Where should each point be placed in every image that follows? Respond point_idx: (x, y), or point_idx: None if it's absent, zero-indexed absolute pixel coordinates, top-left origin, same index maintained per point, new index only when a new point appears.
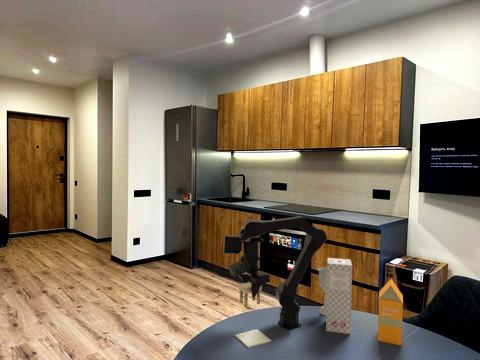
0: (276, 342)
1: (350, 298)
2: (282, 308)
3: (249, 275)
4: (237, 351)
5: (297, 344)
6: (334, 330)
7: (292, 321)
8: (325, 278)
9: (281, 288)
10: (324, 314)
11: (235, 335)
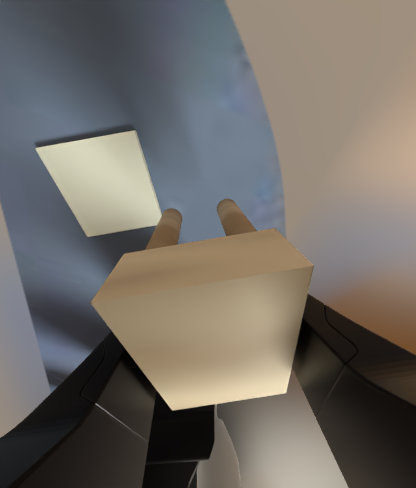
0: (86, 247)
1: None
2: None
3: (364, 482)
4: (4, 89)
5: (77, 285)
6: None
7: None
8: (201, 485)
9: (152, 428)
10: None
11: (134, 130)
